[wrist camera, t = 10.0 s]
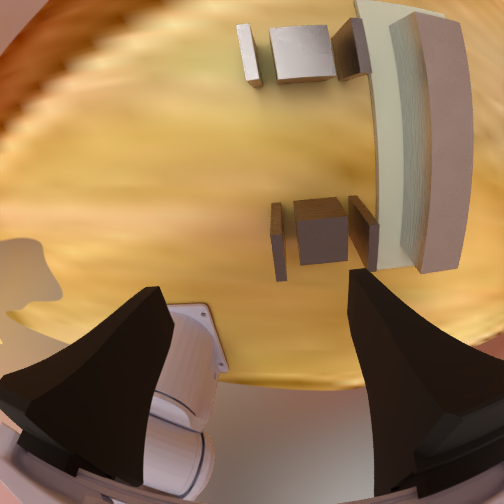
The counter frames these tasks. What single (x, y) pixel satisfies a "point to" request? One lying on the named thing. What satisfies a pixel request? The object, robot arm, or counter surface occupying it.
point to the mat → (387, 125)
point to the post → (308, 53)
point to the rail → (434, 138)
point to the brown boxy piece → (326, 233)
